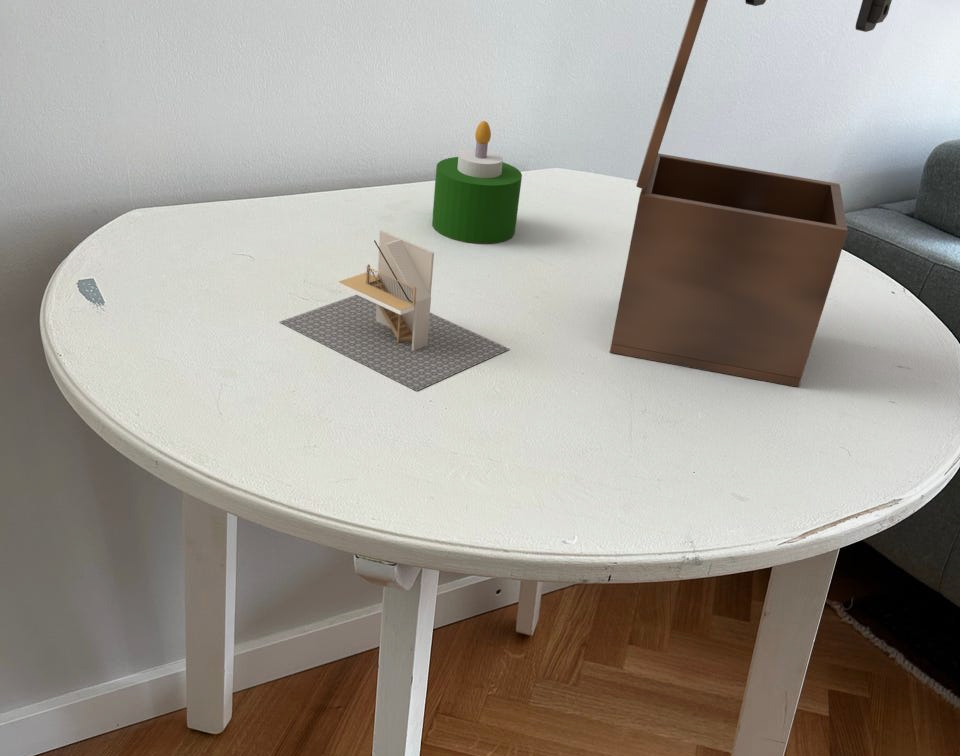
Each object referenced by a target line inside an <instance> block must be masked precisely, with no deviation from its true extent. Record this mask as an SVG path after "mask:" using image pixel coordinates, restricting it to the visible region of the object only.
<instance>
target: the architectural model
mask: <svg viewBox="0 0 960 756" xmlns="http://www.w3.org/2000/svg"><path fill="white" fill-rule="evenodd" d="M373 242H374V243H375V245H376V247H377V249H378V265H377V270H376V269H374V268H371V264H369V263H368V264H366V265H367V266H365V268H366V272H362V273H360V274H357V275H354V276H351V277H348V278H345V279H342V280H339V281H337V282H338V284H337V285H338V287H339V288H341V289H344V290H345V291H348V292H350V293H352V294H353V295H351V296H349V297H346V298H343V299H340V300H337V301H334V302H331V303H329V304H326V305H322V306H320V307H317V308H314V309H312V310H309V311H306V312H303V313H300V314H297V315H294V316H292V317H288V318H286V319H283V320H280V321H279V323H280V324H282V325H284V326H286V327H289V328H290V329H292V330H294V331H296V332H299V333H300V334H302V335H304V336H306V337H308V338H309V339H312V340H314V341H316V342H318V343H320V344H322V345H324V346H326V347H329V348H330V349H331V350H334V351H336V352H338V353H340V354H342V355H344V356H346V357H348V358H350V359H352V360H354V361H356V362H358V363H360V364H362V365H363V366H366V367H368V368H370V369H372V370H374V371H376V372H378V373H380V374H382V375H384V376H386V377H388V378H390V379H392V380H394V381H396V382H398V383H399V384H400V383H401V384H402V385H404V386H406V387H408V388H410V389H412V390H414V391H416V392H418V391H420V390H422V389H424V388H426V387H429V386H431V385H433V384H436V383H438V382H440V381H442V380H444V379H446V378H449V377H451V376H453V375H455V374H458V373H459V372H460V373H461V372H462V371H464V370H467V369H469V368H471V367H473V366H475V365H477V364H481V362H484V361H486V360H489V359H490V358H493V357H495V356H497V355H499V354H502V353H504V352H506V351H509V350H510V348H509V347H507V346H505V345H502V344H500V343H498V342H496V341H494V340H491V339H489V338H488V337H484V336H483V335H481V334H478V333H476V332H474V331H472V330H470V329H468V328H465V327H463V326H461V325H459V324H456V323H454V322H452V321H450V320H447V319H445V318H443V317H441V316H439V315H436V314H434V313H432V312H431V301H432V286H433V273H434V272H433V271H434V258H435V252H434V251H432V250H429V249H427V248H425V247H423V246H420V245H417V244H416V243H413V242H410V241H408V240H405V239H404V238H401V237H400V236H397V235H394V234H391V233H390V232H387V231H385V230H383V229H382V230H380V231H379V241H378V242H379V243H377V241H376V240H375V239H374V240H373Z"/></svg>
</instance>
